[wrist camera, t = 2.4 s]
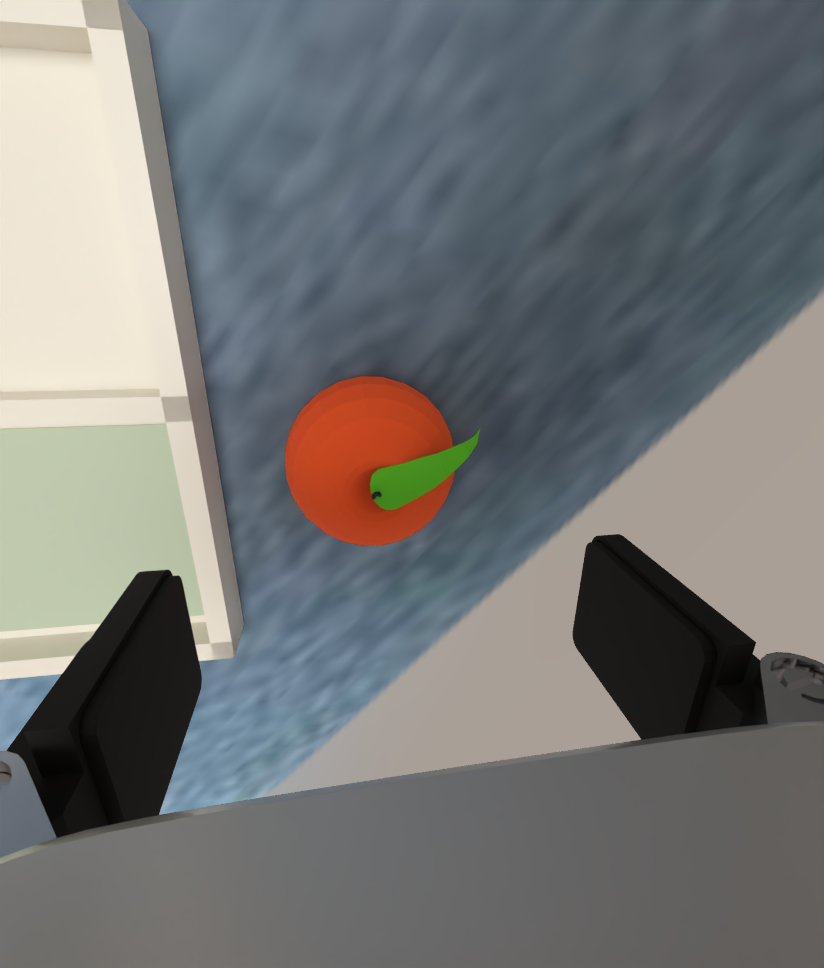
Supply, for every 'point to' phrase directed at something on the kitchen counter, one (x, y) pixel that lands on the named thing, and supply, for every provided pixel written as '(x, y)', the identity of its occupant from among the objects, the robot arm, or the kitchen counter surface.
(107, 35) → the two-compartment tray
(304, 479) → the clementine
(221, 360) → the kitchen counter surface
